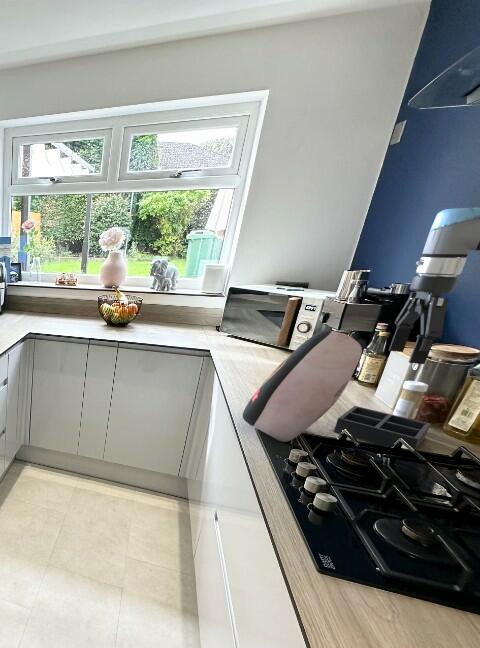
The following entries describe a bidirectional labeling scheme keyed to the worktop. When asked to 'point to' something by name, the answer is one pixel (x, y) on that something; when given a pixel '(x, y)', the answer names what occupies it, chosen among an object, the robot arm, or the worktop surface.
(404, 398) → the sprinkles bottle
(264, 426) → the pinkish grey rounded block
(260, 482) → the worktop surface
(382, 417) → the grid
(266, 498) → the worktop surface
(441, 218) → the robot arm
